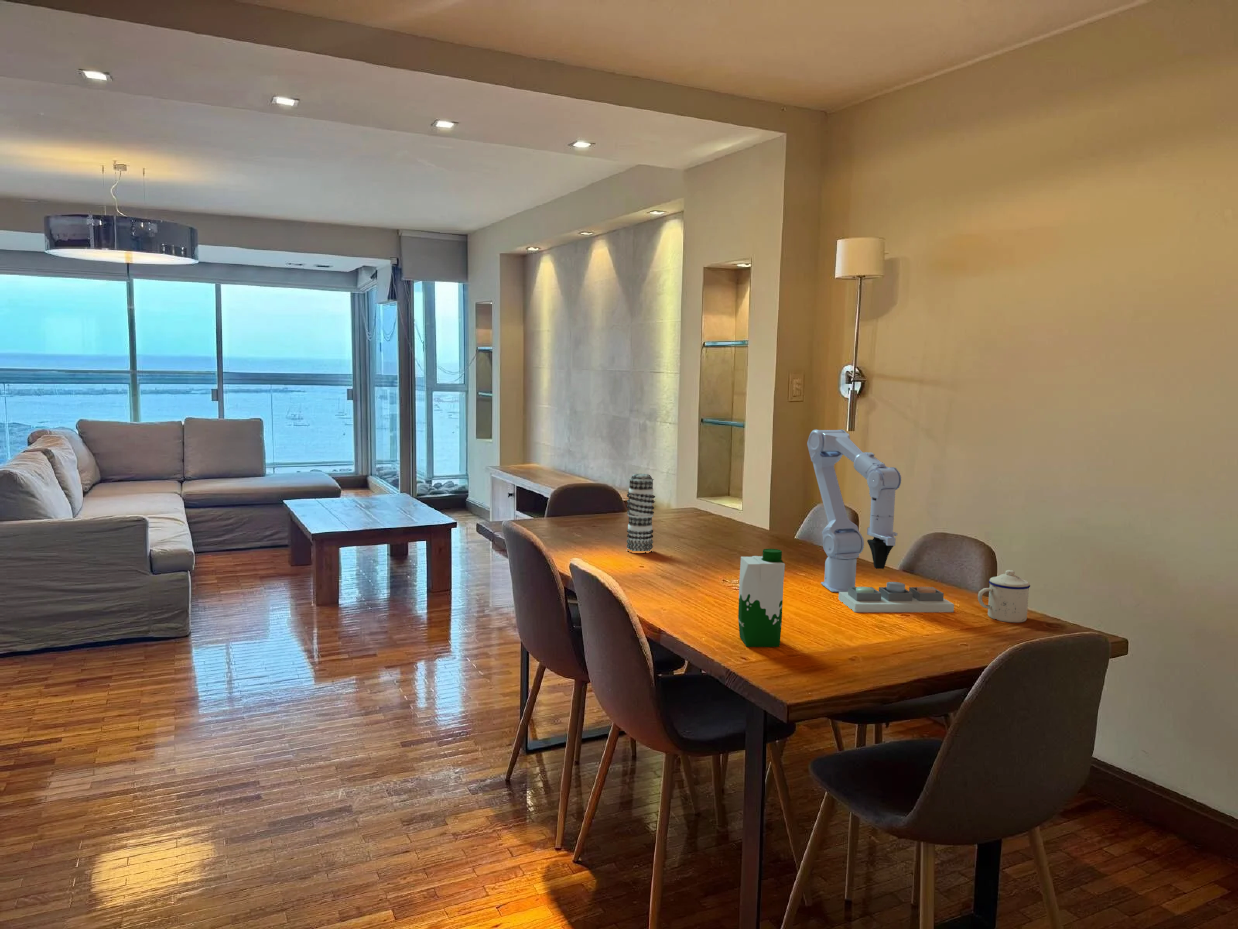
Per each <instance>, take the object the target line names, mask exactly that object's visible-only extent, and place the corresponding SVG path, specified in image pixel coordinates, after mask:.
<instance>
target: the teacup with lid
mask: <svg viewBox="0 0 1238 929" xmlns="http://www.w3.org/2000/svg"><path fill="white" fill-rule="evenodd" d="M988 583H989V587H984V588H982V589H981V590H979V591H978V594H977V600H978V602H979V605H980V606H981V607H982V608H985V609H987V616H988V617H989V618H991V619H992V620H995V619H997V620H996V621H1000V622H1005V623H1015V624H1016V623H1025V622H1026V621H1027V618H1028V607H1029V605H1028V604H1029V593H1030V592H1029V590H1030V588H1031V585H1030V582H1029V581H1028V580H1025V579H1023V578H1022V577H1020V576H1019V575H1017V574H1015V571H1014V570H1012V569H1007V570H1005V573H1002V574H999V575H998V576H992V577H990V578H989V581H988ZM985 593H988V604H985V602H983V595H984V594H985Z"/></svg>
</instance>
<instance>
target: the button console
mask: <svg viewBox="0 0 1238 929" xmlns="http://www.w3.org/2000/svg"><path fill="white" fill-rule="evenodd" d="M856 587H857V586H855V587H848V592H838V600H839V601H840V602H841V603H842V602H843V603H842V604H844V605H845V606H846V607H847V606H848V608H849V609H850V610H851V609H852V611H853V612H854V613H954V612H955V604H954V603H953V602H951V601H949V600H948V599H945V598H944V595H945V592H943V591H941V590H939V589H937V588H935V587H934V586H931V587H930V586H929V587H930V588H934V589H935V590H936V592H935V593H920V592H919V591H917V588H918V587H919V586H909V588H908V589H906V588H905V593H889V592H888V591H886V588H887V586H879V587H878V590H877V589H875V588H874V587H872V586H869V588H873V589H874V593H858V592H857V591H856Z"/></svg>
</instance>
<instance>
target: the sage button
mask: <svg viewBox="0 0 1238 929" xmlns="http://www.w3.org/2000/svg"><path fill="white" fill-rule="evenodd" d="M855 587H856V591H857V592H858V593H874V589H875V588H874V587H873V588H874V589H873V588H869V587H870V586H869V587H868V586H855Z"/></svg>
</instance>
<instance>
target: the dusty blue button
mask: <svg viewBox="0 0 1238 929" xmlns="http://www.w3.org/2000/svg"><path fill="white" fill-rule="evenodd" d="M886 587H887V588H886V591H888V592H889V593H905V589H906V584H905V583H904V582H898V581H887V582H886Z"/></svg>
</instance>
